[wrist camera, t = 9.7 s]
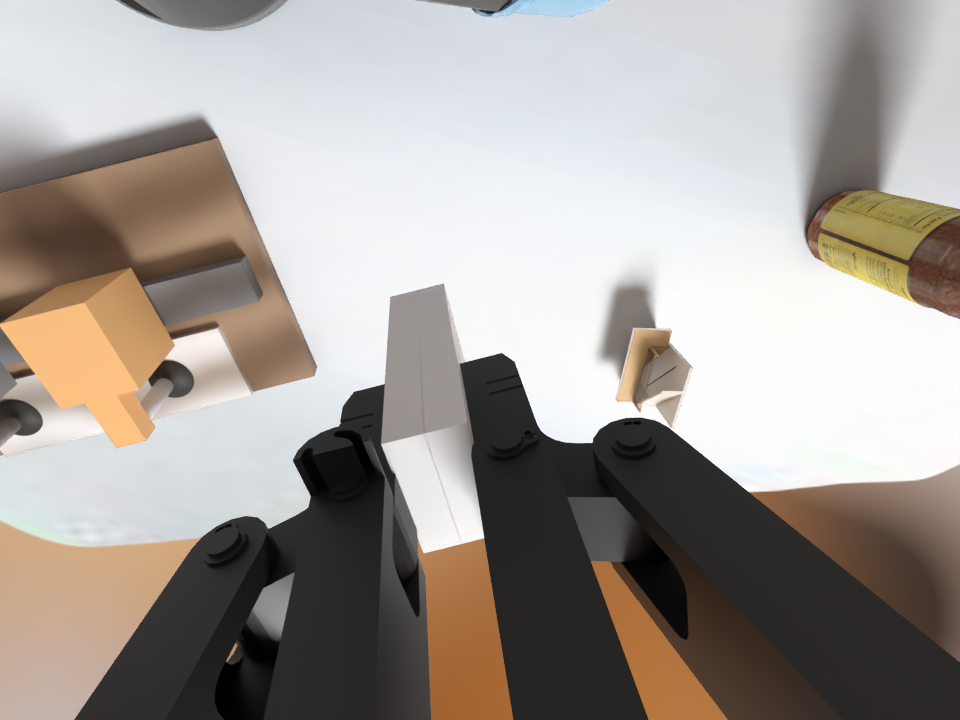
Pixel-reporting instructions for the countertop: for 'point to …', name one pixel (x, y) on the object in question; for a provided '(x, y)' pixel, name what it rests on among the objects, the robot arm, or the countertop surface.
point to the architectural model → (654, 373)
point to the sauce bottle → (892, 245)
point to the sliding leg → (97, 350)
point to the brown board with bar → (149, 283)
